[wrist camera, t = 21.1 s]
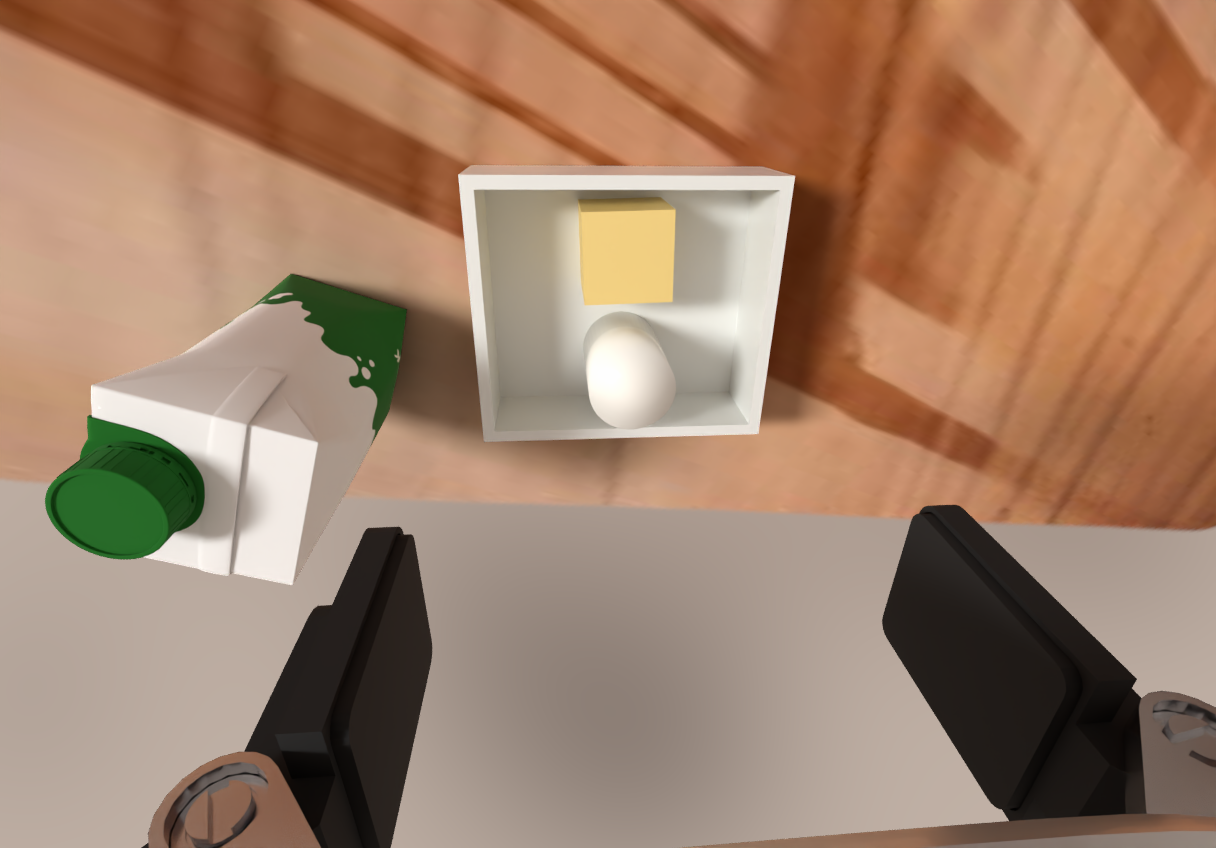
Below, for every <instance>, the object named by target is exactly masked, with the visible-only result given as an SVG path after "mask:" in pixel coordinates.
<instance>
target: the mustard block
mask: <svg viewBox="0 0 1216 848" xmlns="http://www.w3.org/2000/svg"><path fill="white" fill-rule="evenodd" d="M675 216H676V209H674V208H673V207H672V206H671V205H670V204H668V203H667V202H666V201H665V200H664V199H662V198H661V197H647V198H611V199H578V218H579V245H580V272H581V286H582V293H583V299H584V305H610V304H635V303H661V302H673V274H674V245H675Z"/></svg>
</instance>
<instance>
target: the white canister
mask: <svg viewBox="0 0 1216 848" xmlns="http://www.w3.org/2000/svg"><path fill="white" fill-rule="evenodd" d="M583 354H584V361H585V369H586V376H587V384H588V391H589V398H590V402H591V405H592V407H593V409H594V411H595V412H596V414H597V415H598V416H599V417H600V418H601V419H602V420H603V421H605V422H606V423H608V424H609V425H611V426H614V427H617V428H621V429H639V428H643V427H646V426H649V425H651V424H653V423H655V422H656V421H658V420H659V419H661V418H662V417H663V416H664V415H665V414H666V413H667V411H668V410H669V408H670V407H671V405H672V403H673V401H674V397H675V393H676V381H675V377H674V374H673V372H672V370H671V367H670V365H669V363H668V361H667V359H666V357H665V354H664V352H663V350H662V348H661V346H660V343H659V341H658V339H657V337H656V335H655V332H654V330H653V328H652V327H651V325H650V324H649V323H648V322H647V321H646V320H645V319H644V318H642V317H640V316H639V315H637V314H634V313H631V312H623V311H620V312H613V313H609V314H606V315H604V316H602V317H601V318H599V319H598V320H596V321H595V322H594V323H593V324H592V325H591V327H590V328H589V329H588V331H587V333H586V335H585V338H584V343H583Z"/></svg>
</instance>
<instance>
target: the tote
mask: <svg viewBox="0 0 1216 848" xmlns="http://www.w3.org/2000/svg"><path fill="white" fill-rule="evenodd" d="M458 177H459V187H460V198H461V208H462V219H463V229H464V239H465V250H466V260H467V271H468V281H469V292H470V302H471V312H472V323H473V333H474V344H475V354H476V365H477V375H478V385H479V396H480V406H481V417H482V427H483V438H484V442H501V441H535V440H569V439H603V438H637V437H671V436H705V435H739V434H758V432H759V425H760V418H761V411H762V404H763V397H764V390H765V383H766V376H767V369H768V362H769V355H770V348H771V341H772V334H773V327H774V321H775V314H776V307H777V300H778V293H779V286H780V279H781V272H782V265H783V258H784V251H785V244H786V237H787V230H788V223H789V216H790V209H791V202H792V195H793V188H794V181H795V176H793V175H790V174H787V173H783V172H780V171H776V170H773V169H769V168H766V167H749V166H548V165H471V166H470V167H468V168H467V169H465V170H464V171H463V172H461V173H460V174H459V175H458ZM647 197H661V198H662V199H664V200H665V201H666V202H667V203H668V204H670V205H671V206H672V207H673V208H674V209H676V216H675V245H674V274H673V302H661V303H635V304H610V305H584V299H583V293H582V286H581V272H580V245H579V218H578V199H611V198H647ZM620 311H623V312H631V313H634V314H637V315H639V316H640V317H642V318H644V319H645V320H646V321H647V322H648V323H649V324H650V325H651V327H652V328H653V330H654V332H655V335H656V337H657V339H658V341H659V343H660V346H661V348H662V350H663V352H664V354H665V357H666V359H667V361H668V363H669V365H670V367H671V370H672V372H673V374H674V377H675V381H676V393H675V397H674V401H673V403H672V405H671V407H670V408H669V410H668V411H667V413H666V414H665V415H664V416H663V417H662V418H661V419H659V420H658V421H656V422H655V423H653V424H651V425H649V426H646V427H643V428H639V429H621V428H617V427H614V426H611V425H609V424H608V423H606V422H605V421H603V420H602V419H601V418H600V417H599V416H598V415H597V414H596V412H595V411H594V409H593V407H592V405H591V402H590V398H589V391H588V384H587V376H586V369H585V361H584V354H583V343H584V338H585V335H586V333H587V331H588V329H589V328H590V327H591V325H592V324H593V323H594V322H595V321H596V320H598V319H599V318H601V317H602V316H604V315H606V314H609V313H613V312H620Z"/></svg>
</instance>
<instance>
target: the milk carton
mask: <svg viewBox="0 0 1216 848" xmlns="http://www.w3.org/2000/svg"><path fill="white" fill-rule="evenodd" d="M406 313H407V310H406V309H403V308H400V307H397V306H393V305H390V304H387V303H384V302H381V301H377V300H374V299H371V298H368V297H365V296H361V295H358V294H355V293H352V292H348V291H345V290H342V289H339V288H336V287H332V286H329V285H326V284H323V283H320V282H316V281H313V280H310V279H307V278H304V277H300V276H297V275H294V274H290V275H289V276H288V277H287V278H286V279H284V280H283V281H282V282H281V283H280V284H279V285H277V286H276V287H275V288H274V289H273V290H271V291H270V292H269V293H268V294H267V295H266V296H264V297H263V298H262V299H261V300H260V301H259V302H257V303H256V304H255V305H254V306H253V307H251V308H250V309H249V310H247V311H246V312H244V313H243V314H241V315H240V316H238V317H237V318H235V319H234V320H232V321H231V322H229V323H228V324H226V325H225V326H223V327H222V328H220V329H219V330H217V331H216V332H214V333H213V334H211V335H210V336H208V337H207V338H205V339H204V340H202V341H201V342H199V343H198V344H196V345H195V346H193V347H192V348H190V349H189V350H187V351H186V352H184V353H183V354H181V355H179V356H176V357H173V358H170V359H167V360H164V361H161V362H159V363H156V364H153V365H150V366H147V367H144V368H141V369H138V370H135V371H132V372H129V373H126V374H123V375H120V376H117V377H114V378H111V379H108V380H105V381H102V382H99V383H96V384H93V385H92V386H91V405H92V415H89V416H87V429H88V440H87V441H86V443H85V445H84V447H83V448H82V451H81V455H80V460H79V461H78V462H76V463H75V464H74V465H72V466H71V467H70V468H68V469H67V470H66V471H64V472H63V473H62V474H61V475H59V476H58V477H57V479H55V480H54V481H53V482H52V484H51V485H50V486H49V488H48V490H47V493H46V498H45V504H46V510H47V513H48V516H49V518H50V520H51V522H52V523H53V525H54V526H55V527H56V529H57V530H58V531H59V532H60V533H61V534H62V535H63V536H64V537H65V538H66V539H68V540H69V541H70V542H72V543H73V544H75V545H76V546H78V547H80V548H82V549H84V550H86V551H88V552H91V553H93V554H96V555H99V556H103V557H107V558H113V559H136V558H141V557H145V558H150V559H155V560H159V561H164V562H169V563H173V564H178V565H183V566H188V567H193V568H198V569H200V570H202V571H205V572H210V573H214V574H219V575H224V576H229V575H230V574H231V573H234V574H239V575H244V576H249V577H254V578H259V579H264V580H269V581H274V582H279V583H284V584H289V585H293V584H294V582H295V581H296V579H297V577H298V575H299V573H300V572H301V570H302V568H303V566H304V564H305V563H306V561H307V559H308V557H309V555H310V554H311V552H312V550H313V548H314V547H315V545H316V543H317V541H318V540H319V538H320V536H321V534H322V533H323V531H324V529H325V528H326V526H327V524H328V522H329V521H330V519H331V517H332V516H333V514H334V512H335V510H336V509H337V507H338V505H339V504H340V502H341V500H342V498H343V497H344V495H345V493H346V491H347V490H348V488H349V486H350V484H351V482H352V480H353V478H354V477H355V475H356V473H357V471H358V469H359V467H360V465H361V463H362V462H363V460H364V458H365V456H366V454H367V452H368V450H369V448H370V447H371V445H372V443H373V441H374V439H375V437H376V435H377V433H378V431H379V430H380V428H381V426H382V424H383V422H384V420H385V418H386V416H387V414H388V412H389V409H390V405H391V401H392V396H393V392H394V388H395V383H396V379H397V375H398V370H399V364H400V357H401V350H402V342H403V335H404V327H405V320H406Z"/></svg>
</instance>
